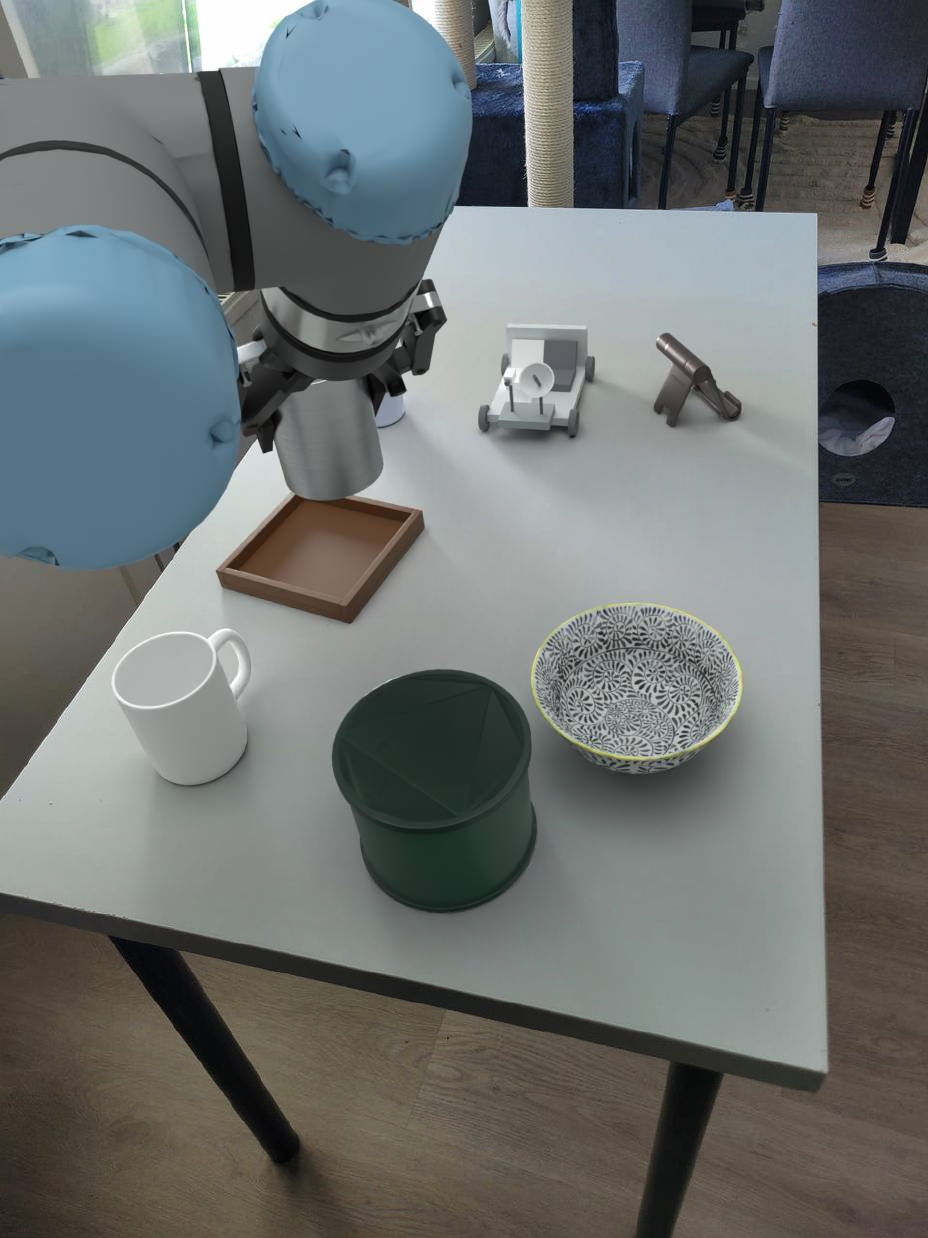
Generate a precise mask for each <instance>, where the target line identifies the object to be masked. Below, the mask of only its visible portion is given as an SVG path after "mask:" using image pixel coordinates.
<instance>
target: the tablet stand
mask: <svg viewBox="0 0 928 1238" xmlns="http://www.w3.org/2000/svg"><path fill="white" fill-rule="evenodd" d="M655 347H656V349H657V350H658V351H659V352H660V353H661V354H663V355H664V356H665V357H666V358H667V359H668V360H670V361H671V365H670V367H669V370H668V372H667V373H666V376H665V379H664V381H663V384H662V386H661V388H660V391H659V392H658V395H657V397H656V399H655V402H654V404H653V406H652V407H653V408H652V409H653V410H654V412H655V413H656V414H657V415H660V414H661V412H662V410H663V408H665V409H667V411H668V415H667V418H666V422H665V423H666V424H667V425H668V426H669V427H674V426H675V425H676V423H677V420H679V419H678V418H679V417H680V414H681V412H682V410H683V407H684V405H685V403H686V401H687V398H688V397H689V394H690V392H691V390H692V389H693V390H694V391H695V392H696V393H698V394H699V395H700V396H701V397H702V398H704V399H705V400H706V401H707V403H709V404H710V405H711V406H712V407H713V408H714V409H716V411H718V412H719V414H720V415H721V416H722V417H724V419H727V421H730V422H732V421H735V420H737V419H739V417H740V416H741V415H742V410H743V409H742V407H743V405H742V401H740V400H739V399H738V398H737V397H736V396H734V395H733V394H732V393H731V392H730V391H729V390H725V391H724V392H723V391H722V390H721V389H720V388H719V387H718V385H717V380H716V379H715V377H714V375H713V373H712V369H711V368H710V367H709V366H708V365H707V364H706V363H705V362H704V361H702V359H700V358H699V357H698V356H697V355H696V354H694V353H693V352H692V351H691V350H690V349H689V348H688V347H687V346H685V345H684V344H683V343H682V342H681V341H680V340H678V339H677V338H676V337H675V336H673V335H672V334H671V333H670V332H663V333H661V334H660V335H658V337H657V339H656V341H655Z"/></svg>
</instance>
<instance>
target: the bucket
mask: <svg viewBox="0 0 928 1238" xmlns="http://www.w3.org/2000/svg"><path fill="white" fill-rule="evenodd" d="M532 741H533V740H532V730H531V726H530V722H529V720H528V717H527V715H526V713H525V710H524V709H523V707H522V706H521V704H520V703H519V702H518V700H517V699H516V698H515V696H513V695H512V694H511V693H510V692H509V690H507V689H505V688H504V687H503V686H501V685H500V684H499V683H497V682H495V681H493V680H491V679H489V678H487V677H485V676H482V675H479V674H476V673H474V672H469V671H465V670H461V669H460V670H459V669H452V668H434V669H423V670H418V671H413V672H410V673H405V674H402V675H399V676H397V677H394V678H391V679H389V680H387V681H386V682H383V683H381V684H379V685H378V686H376V687H375V688H373V689H371V690H369V691H368V693H365V695H364V696H362V697H361V698H360V699H359V700H358V701H357V702H356V703H355V704H354V705H353V706H352V707H351V708H350V710H349V711H348V712H347V713H346V714H345V716H344V717H343V719H342V721H341V722H340V724H339V726H338V728H337V731H336V733H335V736H334V739H333V743H332V748H331V749H332V750H331V768H332V772H333V776H334V780H335V782H336V785H337V787H338V790H339V792H340V794H341V795H342V797H343V798H344V800H345V802H347V804H348V805H349V807H350V809H351V813H352V816H353V819H354V822H355V825H356V828H357V832H358V834H359V844H360V845H359V847H360V852H361V856H362V860H363V863H364V865H365V868H366V871H367V873H368V874H369V876H370V877H371V879H372V881H373V882H374V883H375V884H376V886H377V888H379V889H380V890H381V891H382V892H383V893H385V894H386V896H388V897H390V898H391V899H393V900H394V901H396V902H397V903H399V904H402V905H403V906H405V907H407V908H411V909H413V910H417V911H421V912H427V913H435V914H436V913H438V914H447V913H449V914H450V913H458V912H464V911H468V910H472V909H474V908H479V907H481V906H483V905H485V904H488V903H489V902H491V901H493V900H494V899H496V898H498V897H500V896H501V895H503V894H504V893H505V892H506V891H507V890H509V889H510V888H511V887H512V886H513V885H514V884H515V883H516V882H517V881H518V880H519V879H520V878H521V876H522V875H523V873H524V872H525V871H526V869H527V867H528V865H529V864H530V862H531V861H532V860H531V859H532V857H533V856H534V852H535V848H536V844H537V837H538V824H537V823H538V822H537V815H536V810H535V807H534V805H533V802H532V798H531V787H530V786H531V785H530V775H529V768H530V764H531V760H532V754H533V753H532V751H533V742H532Z"/></svg>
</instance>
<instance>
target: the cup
mask: <svg viewBox="0 0 928 1238" xmlns="http://www.w3.org/2000/svg"><path fill="white" fill-rule="evenodd" d="M226 643H229V644H230V645H231V647H232V648H233V650H234V651H235V654H236V657H237V661H238V662H237V663H238V669H237V674H236V676H235V678H234V679H233V681H232V682H231V684H230V682H229V680H228V677H227V675H226V673H225V670H224V668H223V665H222V663H221V660H220V657H219V656H218V655H219V654H218V652H219V651H220V650H221V648H222V647H224V645H225V644H226ZM251 673H252V659H251V654H250V651H249V648H248V646H247V644H246V642H245V640H244V639H243V638H242V636H241V635H240V633H238V632H236V631H235V630H234V629H231V628H222V629H220V630H217V631H215V632H214V633H213V634H212V635H210V636H209V637H208V638H206V637H205V636H202V635H200V634H198V633H195V632H190V631H189V632H188V631H171V632H166V633H162V634H158V635H154V636H151V637H149V638H148V639H145V640H143V641H141V642H140V643H138V644H136V645H135V646H134V647H132V648H131V649H130V650H128V651H127V652H126V653H125V654H124V655H123V656H122V657H121V659H120V660H119V661H118V662H117V664H116V666H115V667H114V670H113V672H112V675H111V680H110V686H111V687H110V688H111V691H112V694H113V695H114V698H115V699H116V701H117V703H118V705H119V706H120V708H121V710H122V713H123V714H124V715H125V718H126V720H127V721H128V723H129V725H130V727H131V728H132V731H133V732H134V734H135V736H136V738H137V739H138V741H139V743H140V745H141V747H142V749H143V751H144V753H145V754H146V756H147V758H148V760H149V762H150V763H151V765H152V766H153V768H154V770H155V771H156V772H157V773H158V774H159V775H160V776H161V777H162V778H163V779H165V780H167V781H169V782H171V783H174V784H177V785H182V786H197V785H202V784H205V783H209V782H212V781H214V780H216V779H218V778H220V777H222V776H223V775H225V774H226V773H228V772H229V771H230V770H232V768H233V767H235V765H237V763H238V762H239V760H240V759H241V757H242V756H243V755H244V753H245V750H246V747H247V742H248V729H247V725H246V722H245V719H244V716H243V713H242V711H241V709H240V707H239V705H238V702H237V700H238V699H239V698H240V696H241V695H242V693H243V692H244V690H245V689H246V687H247V684H248V683H249V680H250V678H251Z"/></svg>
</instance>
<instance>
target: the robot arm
mask: <svg viewBox="0 0 928 1238" xmlns="http://www.w3.org/2000/svg"><path fill="white" fill-rule="evenodd" d="M463 69H464V68H463V67H462V65H461V63H460V61H459V59H458V57H457V55H456V53H455V51H454V50H453V49H452V48H451V46H450V44H449V43H448V41H447V40H446V39H445V38H444V37H443V36H442V34H441V33H440V32H439V31H438V30H437V29H436V28H435V27H434V26H433V25H432V24H431V23H430V22H429V21H428V20H427V19H425V18H424V17H423V16H421V15H420V14H419V13H417V12H416V11H414V10H413V9H411V8H410V7H408V6H406V5H404V4H401V3H399V2H397V1H395V0H313V1H311V2H309V3H306V4H305V5H304V6H301V7H300V8H298V9H296V10H295V11H294V12H292V13H290V14H288V15H285V16H284V17H283V18H282V19H281V21H279V23H277V25H276V26H275V27H274V29H273V30H272V32H271V34H270V35H269V37H268V39H267V40H266V43H265V45H264V47H263V50H262V53H261V56H260V59H259V64H258V65H255V66H233V67H232V66H231V67H218V68H217V70H200V71H195V72H193V71H192V72H165V73H137V74H136V73H135V74H113V75H112V74H108V75H106V74H105V75H81V76H54V77H53V76H52V77H50V76H49V77H24V78H23V77H22V78H10V77H4V76H3V74H0V555H1V556H4V557H6V558H8V559H11V558H14V557H17V558H21V559H24V560H27V561H31V562H36V563H41V564H46V565H52V566H54V567H56V568H57V569H58V570H60V571H74V572H85V571H101V570H107V569H113V568H119V567H124V566H127V565H130V564H134V563H138V562H141V561H143V560H145V559H148V558H150V557H153V556H155V555H157V554H159V553H162V552H163V551H165V550H167V549H169V548H171V547H173V546H174V545H176V544H177V543H179V542H180V541H181V540H183V539H184V538H186V537H187V536H188V535H189V534H190V533H192V532H193V531H194V530H195V529H196V528H198V526H200V525H201V524H202V523H203V522H204V521H205V520H206V519H207V518H208V517H209V516H210V514H211V513H212V512H213V511H214V509H216V506H217V505H218V503H219V501H220V500H221V499H222V497H223V495H224V493H225V492H226V490H227V489H228V487H229V484H230V481H231V479H232V476H233V475H234V473H235V472H234V471H235V468H236V464H237V461H238V456H239V451H240V450H239V449H240V441H241V440H240V439H241V434H242V436H243V437H245V438H249V437H252V436H254V435H255V437H256V439H257V442H258V444H259V447H260V450H261V452H262V454H267V453H270V452H273V451H274V440H273V436H274V424H273V422H272V419H271V415H272V414H273V413H274V412H275V410H276V409H277V408H278V407H279V406H280V405H281V404H282V403H283V402H284V401H285V400H286V399H287V398H288V397H289V396H290V394H291V393H295V392H301V391H304V390H306V389H307V388H308V386H309V385H310V384H311V383H312V382H313V381H314V380H315V379H316V378H317V379H321V380H326V381H348V380H353V379H357V378H360V377H363V376H365V375H367V378H368V383H369V388H370V394H371V399H372V404H373V409H374V415H375V418H376V415H377V413H378V410H379V408H380V405H381V403H382V401H383V398H384V396H385V393H388V392H389V395H390V397H396V396H399V395H402V396H403V395H404V394H405V393H407V392H408V390H407V387H406V384H405V381H404V379H403V375H404V374H406V373H408V372H411V374H412V376H414V377H416V376H423V375H425V374H426V373H427V372H428V371H429V370H430V368H431V362H432V357H433V352H434V351H433V350H434V346H435V345H434V344H435V339H436V334H437V333H438V332H439V331H440V330H441V329H442V327H444V325H445V324H446V323H447V322H448V318H447V316H446V312H445V310H444V308H443V304H442V302H441V299H440V295H439V294H438V291H437V288H436V286H435V284H434V280H433V279H432V278H426V279H424V275H425V273H426V271H427V268H428V265H429V263H430V261H431V258H432V255H433V253H434V250H435V248H436V245H437V243H438V240H439V238H440V235H441V234H442V231H443V229H444V226H445V223H446V222H447V220H448V219H449V217H450V215H452V214H453V212H454V209H455V205H456V203H457V201H458V199H459V197H460V191H461V186H462V178H463V175H464V171H465V167H466V163H467V161H468V157H469V148H470V143H471V139H472V138H471V137H472V133H473V105H472V101H473V100H472V92H471V89H470V87H469V84H468V81H467V77H466V74H465V72H464V70H463ZM254 290H259V292H258V293H259V321H260V323H259V324H258V325H257V326H256V327H255V328H254V330H253V331H252V334H251V341H250V342H247V343H244V344H241V345H239V344H238V343H237V341H236V336H235V332H234V330H233V328H232V326H231V325H230V323H229V322H228V319H227V317H226V314H225V312H224V309H223V307H222V303H221V301H220V297H219V295H223V294H232V293H241V292H250V291H251V292H252V291H254ZM399 343H400V345H401V346H398V344H399Z"/></svg>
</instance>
